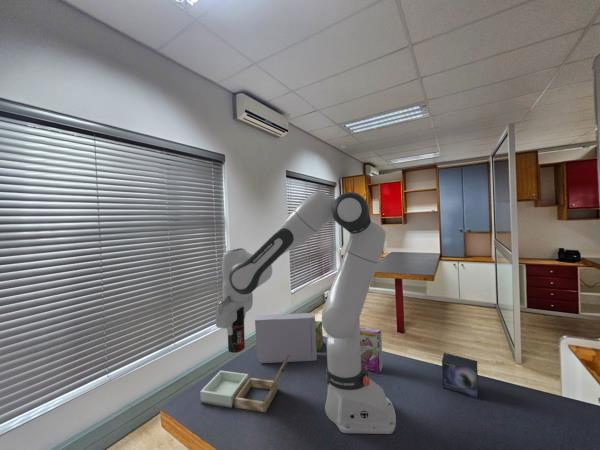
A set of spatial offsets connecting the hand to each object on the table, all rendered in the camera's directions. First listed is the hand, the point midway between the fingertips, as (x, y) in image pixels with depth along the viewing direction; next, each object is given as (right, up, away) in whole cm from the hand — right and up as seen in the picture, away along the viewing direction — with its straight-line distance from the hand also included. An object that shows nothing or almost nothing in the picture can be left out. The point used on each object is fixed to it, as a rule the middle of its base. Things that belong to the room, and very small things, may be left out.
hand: (236, 329), depth 91 cm
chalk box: (+30, -23, +33) cm, 50 cm away
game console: (+18, -24, +23) cm, 37 cm away
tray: (-4, -25, +2) cm, 25 cm away
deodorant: (0, -7, 0) cm, 7 cm away
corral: (+8, -24, -1) cm, 26 cm away
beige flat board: (+16, -15, -4) cm, 22 cm away
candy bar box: (+53, -22, +13) cm, 58 cm away
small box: (+81, -21, -2) cm, 84 cm away
